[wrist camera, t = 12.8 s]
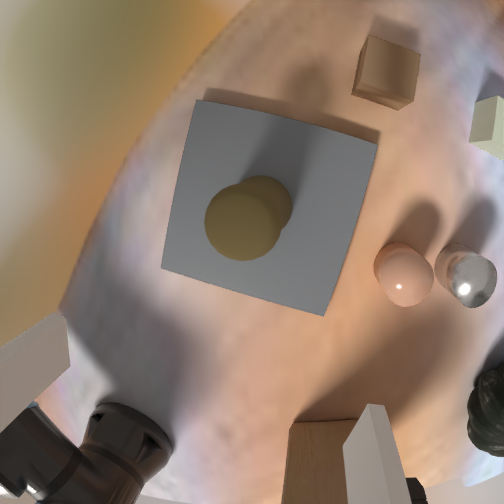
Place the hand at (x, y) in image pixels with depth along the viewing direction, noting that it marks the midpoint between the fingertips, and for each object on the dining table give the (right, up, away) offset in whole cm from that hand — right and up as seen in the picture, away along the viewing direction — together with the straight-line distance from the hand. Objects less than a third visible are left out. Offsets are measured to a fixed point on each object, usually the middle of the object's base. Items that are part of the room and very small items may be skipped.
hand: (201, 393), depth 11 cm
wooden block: (+12, -21, +27) cm, 37 cm away
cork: (+3, +10, +19) cm, 21 cm away
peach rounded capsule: (+17, +4, +19) cm, 26 cm away
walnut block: (+15, +23, +15) cm, 31 cm away
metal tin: (+24, +4, +18) cm, 31 cm away
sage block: (+28, +19, +14) cm, 37 cm away
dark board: (+3, +10, +20) cm, 22 cm away
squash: (+38, -14, +21) cm, 46 cm away
